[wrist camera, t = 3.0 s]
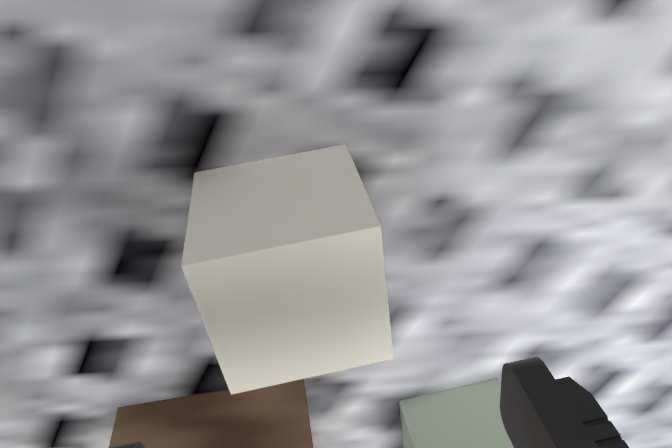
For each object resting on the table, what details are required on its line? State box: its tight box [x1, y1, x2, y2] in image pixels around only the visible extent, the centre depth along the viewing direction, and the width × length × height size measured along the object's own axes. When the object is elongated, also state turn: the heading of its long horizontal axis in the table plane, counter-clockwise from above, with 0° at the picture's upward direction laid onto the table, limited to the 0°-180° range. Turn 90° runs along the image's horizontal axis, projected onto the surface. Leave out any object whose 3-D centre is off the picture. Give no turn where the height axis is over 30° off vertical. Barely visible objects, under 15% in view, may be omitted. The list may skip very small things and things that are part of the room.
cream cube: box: [181, 144, 393, 395], centre depth 16 cm, size 5×5×5 cm
